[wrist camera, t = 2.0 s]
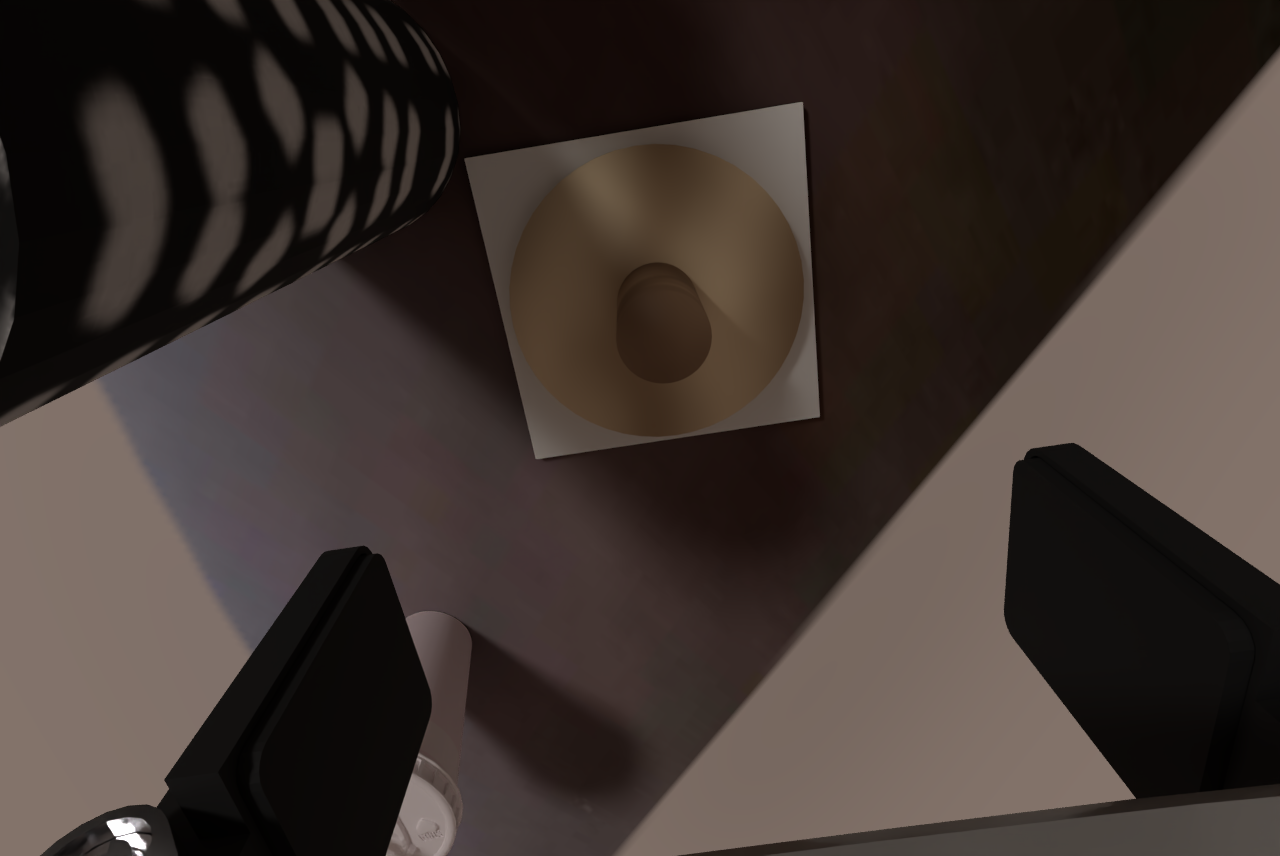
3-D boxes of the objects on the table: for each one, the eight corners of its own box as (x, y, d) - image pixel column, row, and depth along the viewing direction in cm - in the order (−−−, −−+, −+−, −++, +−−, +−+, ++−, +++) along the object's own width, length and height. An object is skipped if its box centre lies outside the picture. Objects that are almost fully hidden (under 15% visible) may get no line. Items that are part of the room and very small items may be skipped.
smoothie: (428, 563, 32) (300, 858, 19) (528, 645, 34) (471, 961, 21) (338, 638, 34) (163, 957, 21) (438, 712, 36) (334, 1044, 23)
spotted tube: (505, 168, 25) (203, 292, 7) (320, 277, 27) (-332, 618, 8) (364, -78, 22) (-805, -971, 4) (163, 60, 24) (-1376, -138, 5)
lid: (789, 120, 25) (832, 119, 20) (806, 407, 29) (845, 467, 24) (481, 171, 25) (446, 183, 20) (544, 446, 29) (529, 513, 24)
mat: (800, 102, 25) (802, 102, 24) (817, 413, 30) (819, 416, 29) (466, 158, 25) (464, 158, 25) (536, 455, 30) (535, 459, 30)
